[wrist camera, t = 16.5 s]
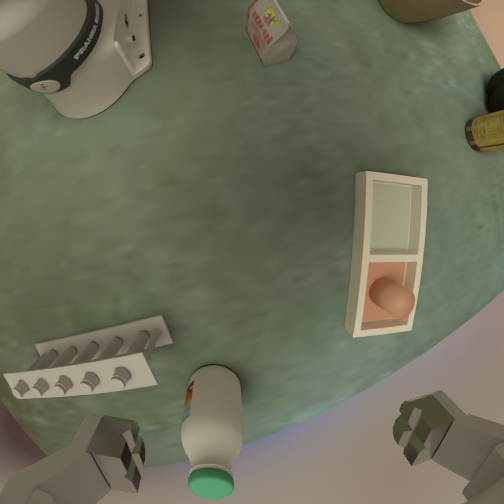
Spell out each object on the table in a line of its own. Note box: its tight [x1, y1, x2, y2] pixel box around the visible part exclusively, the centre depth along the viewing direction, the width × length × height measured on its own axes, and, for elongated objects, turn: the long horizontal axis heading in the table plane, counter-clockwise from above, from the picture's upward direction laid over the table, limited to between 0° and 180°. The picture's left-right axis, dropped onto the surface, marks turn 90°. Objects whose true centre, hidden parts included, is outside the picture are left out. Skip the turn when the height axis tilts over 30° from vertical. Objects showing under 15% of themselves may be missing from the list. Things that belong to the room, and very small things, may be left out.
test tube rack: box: [3, 314, 174, 399], centre depth 33 cm, size 25×4×13 cm, turn 106°
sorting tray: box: [344, 171, 427, 337], centre depth 38 cm, size 22×10×4 cm, turn 179°
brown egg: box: [369, 278, 415, 319], centre depth 37 cm, size 4×4×6 cm
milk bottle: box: [181, 365, 244, 499], centre depth 32 cm, size 8×8×20 cm
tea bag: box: [246, 0, 298, 66], centre depth 28 cm, size 4×7×10 cm, turn 21°
